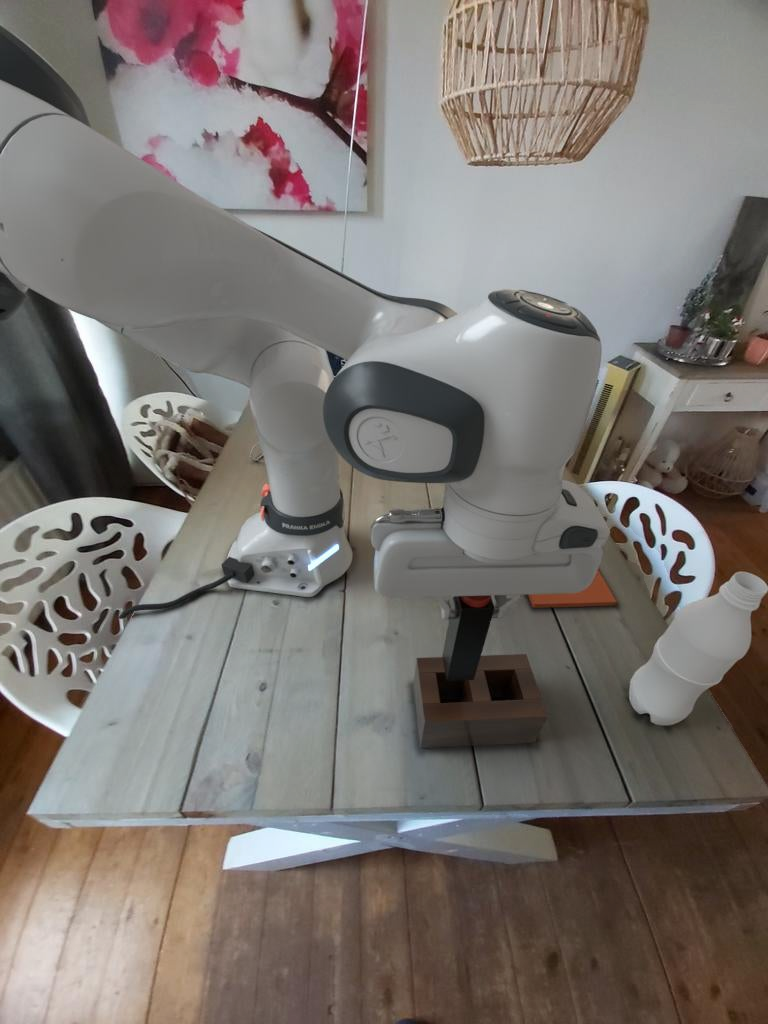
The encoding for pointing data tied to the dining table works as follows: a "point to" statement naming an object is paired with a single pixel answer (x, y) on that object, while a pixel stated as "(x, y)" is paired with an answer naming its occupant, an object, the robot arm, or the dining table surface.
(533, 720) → the holder
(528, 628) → the dining table surface
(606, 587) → the mat
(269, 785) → the dining table surface
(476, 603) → the red-capped black post
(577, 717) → the dining table surface
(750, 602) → the water bottle
